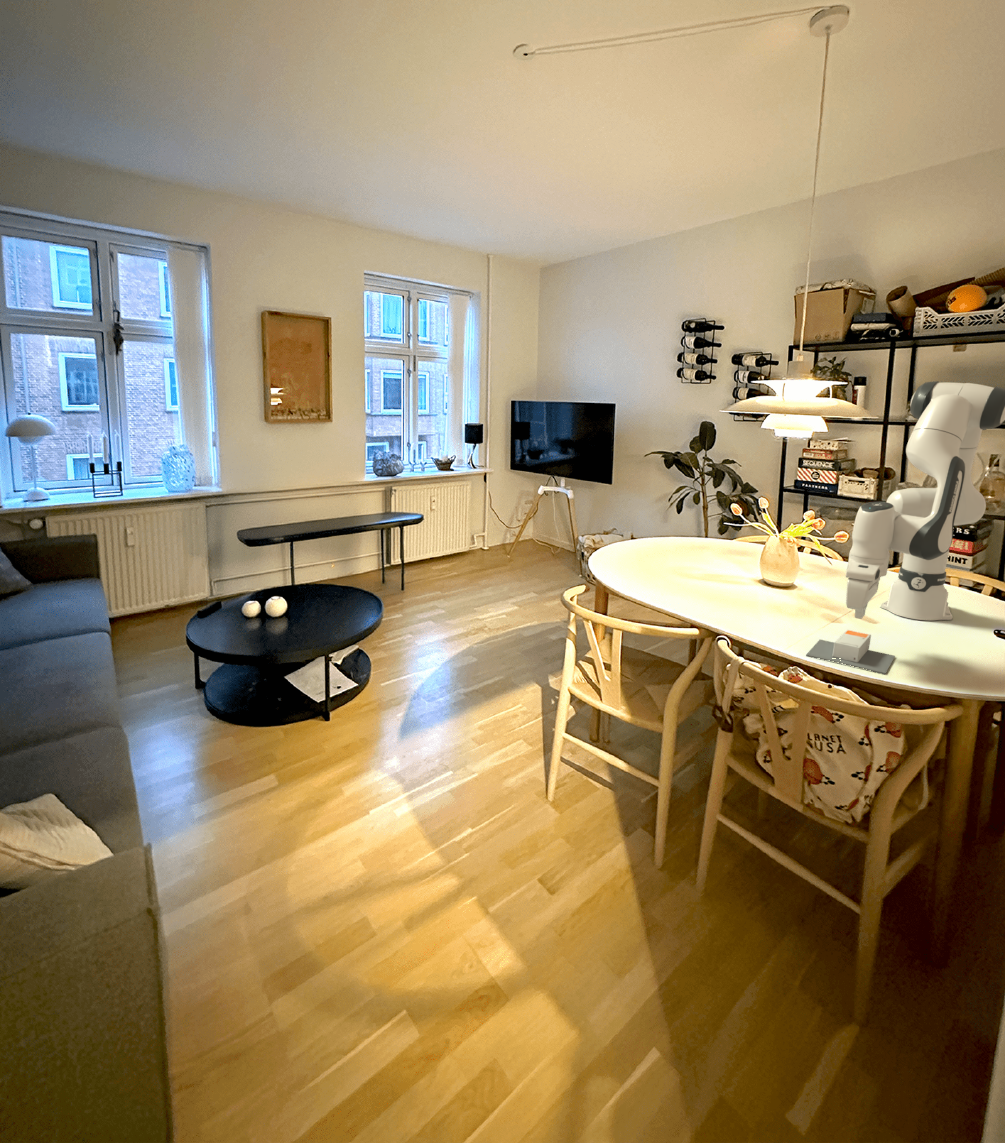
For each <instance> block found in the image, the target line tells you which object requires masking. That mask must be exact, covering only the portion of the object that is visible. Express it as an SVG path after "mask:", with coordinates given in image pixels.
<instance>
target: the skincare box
mask: <svg viewBox="0 0 1005 1143" xmlns="http://www.w3.org/2000/svg"><path fill="white" fill-rule="evenodd" d="M871 637H872V634H871V633H864V632H860V631H855V630H851V629H846V630H845V631H844V632H843V633H842V634H841V636H839V637H838V638H837V639H836V640H835V641H834V649H833V655H832V656H833V657H836V658H841V659H844V660H849V661H853V662H859V660H860V659H861V658H862V657H863V655H864V654H865V653H866V652H867V651H868V650H870V645H871V640H872V639H871Z"/></svg>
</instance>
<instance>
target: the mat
mask: <svg viewBox="0 0 1005 1143" xmlns="http://www.w3.org/2000/svg"><path fill="white" fill-rule="evenodd" d="M834 643H835V641H834V642H833V641H829V640H823V639H819V640H818V641H817V642H816V643H815V644H814V645H813V646H812V648H810V650H809V651H808V652H807V653H806V654H805V657H808V658H812V657H814V659H817V658H820V659H819V660H821V659H824V660H823V661H825V660H830V661H834V662H839V663H843V664H846V665H851V666H854V667H853V668H855V667H859V668H864V669H867V670H866V671H868V670H871V671H870V672H872V671H873V672H872V673H876V672H878V673H877V674H880V673H882V674H881V675H886V673H887V672H888V671H889V669H890V667H889V666H891V665H892V663H893V661H894V659H895V657H896V656H895V655H893V654H889V653H886V652H885V653H884V652H881V651H880V652H879V651H874V650H870V649H868V651H867V652H866V653H865V654H864V655H863V657H862V658H861V659H860V660H859V662H853V661H849V660H844V659H839V658H836V657H833V656H832V655H833V649H834ZM832 658H836V659H832ZM840 660H841V661H840ZM834 662H833V663H834ZM846 665H845V666H846ZM851 666H850V667H851ZM859 668H858V669H859Z"/></svg>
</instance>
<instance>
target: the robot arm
mask: <svg viewBox="0 0 1005 1143" xmlns="http://www.w3.org/2000/svg"><path fill="white" fill-rule="evenodd" d="M909 405H910V406H909V407H910V409H909V410H910V411H909V412H910V414H911V416H912V417H913V418H914V419H916V420H917V422H916V424H915V425H914V427H913V430H912V432H911V434H910V437H909V439H908V442H907V444H906V446H905V454H906V458H907V459H908V461H909V463H910V464H911V465H912V466H914V467H915V468H916V469H917V470H919V471H920V472H922V473H924V474H926V475H928V476H930V477H931V478H934V479H935V480H936V483H937V484H936V485H937V486H936V487H908V488H903V489H898V490H894V491H893V492H891V494H890V495H889V496H888V497H887V499H886V501H870V502H865V503H863V504H862V505H861V506H859V508H858V511H857V513H856V515H855V519H854V523H853V528H852V532H851V538H852V539H851V540H852V546H851V549H850V550H849V554H848V562H847V568H846V571H845V578H847V582H846V594H845V595H846V596H845V597H846V598H845V604H846V605H845V606H846V608H848V609H851V610H855V612H854V618H855V619H859V620H862V619H863V618H864V617H865V616H866V610H867V607H868V604H869V602H870V601H871V600H872V598H874V596H876V594H877V593H878V589H879V582H880V580H881V578H882V577H886V576H887V574H888V568H889V563H890V562H889V561H890V551H893V552H896V553H902V554H903V557H902V564H901V566H900V567H899V570H898V577H897V578H898V579H897V580H895V581H893V582H892V583H891V586H890V589H889V590H890V591H889V594H888V600H886V601H884V602H882V603H880V608H881V609H883V610H884V609H885V610H887V611H889V612H890V613H891V614H892V613H893V614H894V615H897V616H900V617H902V618H907V619H912V620H921V621H942V620H944V621H945V620H946V621H947V620H948V621H952V620H953V615H952V612H951V610H950V607H949V602H948V598H949V597H948V596H949V592H948V590H947V588H945V585H944V584H945V583H946V579H947V572H946V569H947V564H948V558H949V552H950V548H951V546H952V543H953V539H954V538H953V537H954V526H962V525H969V524H975V523H977V522H979V521H980V519H982V517H983V516H984V515H985V512H986V508H987V503H986V499H985V497H984V495H983V493H981V492H980V491H979V490H978V489H977V488H976V487H975V486H974V483H973V481H972V468H973V464H974V460H975V457H976V453H977V450H978V447H979V443H980V441H981V436H982V432H983V431H985V430H991V429H995V428H997V427H1000V426H1001V425H1002V424H1003V423H1004V422H1005V388H1003V387H999V386H995V387H993V386H989V385H985V384H980V383H979V384H978V383H971V382H966V383H965V382H964V383H963V382H946V381H945V382H940V381H938V380H937V381H936V380H935V381H926V382H924V383H922V384H921V385H919V386H918V387H917V389H916V391H914V393H913V395H912V396H911V399H910V404H909Z"/></svg>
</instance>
